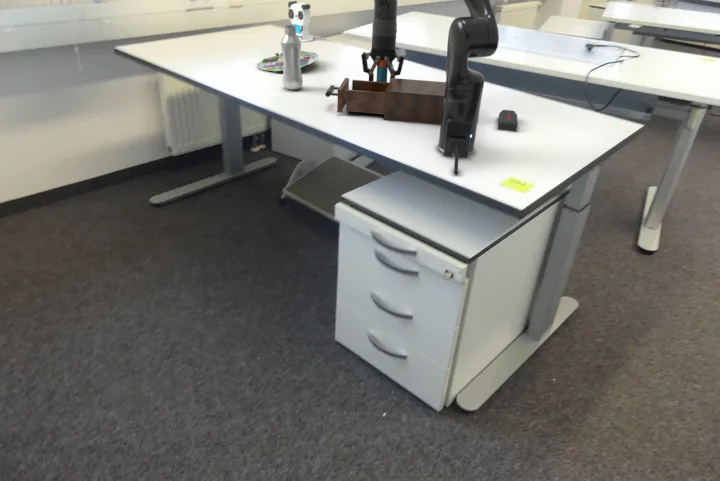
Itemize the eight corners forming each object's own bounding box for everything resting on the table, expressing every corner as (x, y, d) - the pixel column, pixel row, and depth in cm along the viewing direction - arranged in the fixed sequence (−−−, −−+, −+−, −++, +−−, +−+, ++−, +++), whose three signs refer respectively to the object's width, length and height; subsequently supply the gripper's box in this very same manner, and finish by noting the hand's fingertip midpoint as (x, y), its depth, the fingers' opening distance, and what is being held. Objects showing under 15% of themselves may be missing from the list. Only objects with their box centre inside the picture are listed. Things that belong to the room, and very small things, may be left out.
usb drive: (497, 129, 157) (499, 120, 156) (498, 115, 167) (499, 107, 165) (516, 131, 156) (517, 122, 155) (515, 117, 166) (517, 109, 165)
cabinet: (383, 119, 161) (385, 91, 156) (389, 104, 172) (390, 77, 168) (446, 125, 159) (450, 96, 154) (447, 109, 170) (451, 82, 165)
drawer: (323, 110, 163) (323, 88, 159) (331, 98, 173) (331, 76, 170) (395, 117, 161) (396, 94, 157) (399, 103, 171) (401, 82, 167)
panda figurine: (282, 37, 245) (280, 1, 237) (302, 34, 251) (301, -1, 243) (298, 42, 238) (297, 6, 229) (318, 39, 244) (318, 3, 236)
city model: (253, 63, 214) (250, 48, 211) (311, 53, 219) (309, 38, 216) (264, 83, 195) (261, 66, 191) (327, 71, 200) (325, 55, 196)
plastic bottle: (303, 91, 181) (302, 28, 170) (283, 91, 180) (280, 28, 169) (302, 85, 186) (300, 24, 175) (282, 86, 185) (279, 24, 174)
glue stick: (385, 98, 178) (387, 60, 171) (374, 97, 178) (376, 59, 172) (386, 94, 181) (388, 58, 174) (376, 93, 181) (378, 57, 175)
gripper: (359, 33, 166) (357, 88, 176) (406, 36, 165) (402, 91, 174) (363, 28, 173) (361, 81, 182) (408, 31, 171) (404, 84, 180)
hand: (381, 86), depth 178 cm, fingers open, 5 cm apart
